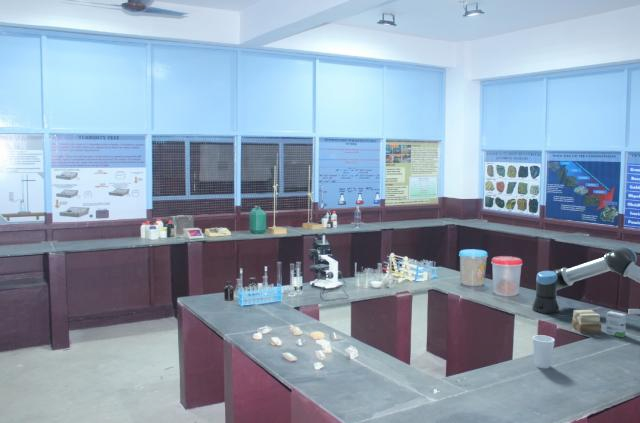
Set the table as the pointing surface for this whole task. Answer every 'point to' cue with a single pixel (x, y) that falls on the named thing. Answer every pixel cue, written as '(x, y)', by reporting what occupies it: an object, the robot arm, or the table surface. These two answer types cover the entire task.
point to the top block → (586, 317)
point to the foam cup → (543, 350)
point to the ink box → (615, 324)
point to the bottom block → (586, 327)
